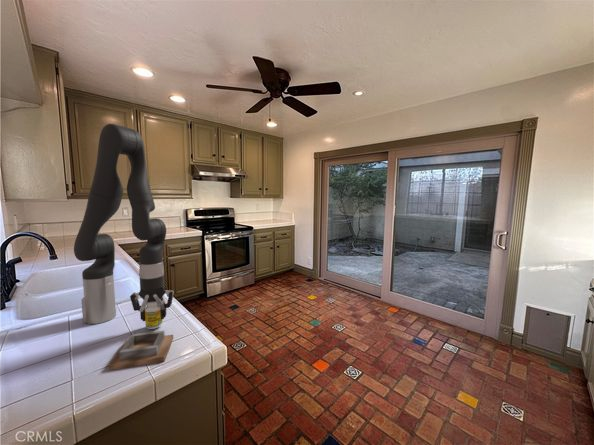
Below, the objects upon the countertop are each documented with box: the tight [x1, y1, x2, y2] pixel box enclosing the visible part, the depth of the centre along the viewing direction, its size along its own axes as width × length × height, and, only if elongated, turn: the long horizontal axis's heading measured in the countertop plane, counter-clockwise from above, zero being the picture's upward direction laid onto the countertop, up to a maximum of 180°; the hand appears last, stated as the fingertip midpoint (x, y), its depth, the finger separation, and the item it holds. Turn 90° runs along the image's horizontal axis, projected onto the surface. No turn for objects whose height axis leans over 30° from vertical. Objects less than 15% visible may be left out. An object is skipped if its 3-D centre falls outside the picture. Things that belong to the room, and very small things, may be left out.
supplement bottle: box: [144, 301, 163, 330], centre depth 89 cm, size 5×5×10 cm
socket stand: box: [107, 330, 174, 371], centre depth 75 cm, size 14×12×4 cm
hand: (153, 319), depth 89 cm, fingers closed on supplement bottle, 5 cm apart
